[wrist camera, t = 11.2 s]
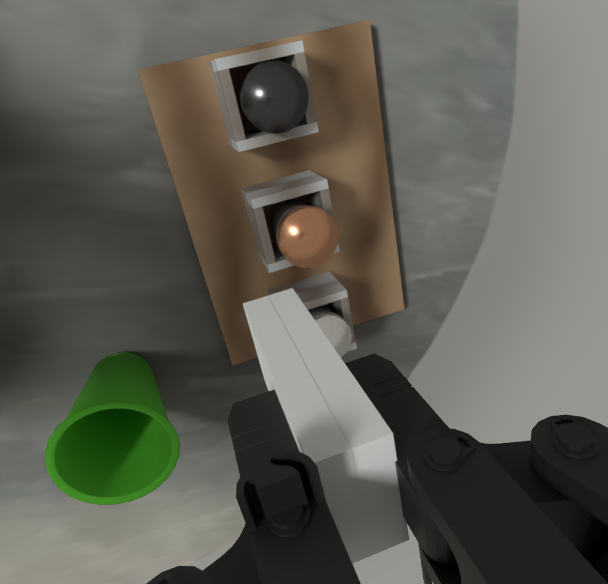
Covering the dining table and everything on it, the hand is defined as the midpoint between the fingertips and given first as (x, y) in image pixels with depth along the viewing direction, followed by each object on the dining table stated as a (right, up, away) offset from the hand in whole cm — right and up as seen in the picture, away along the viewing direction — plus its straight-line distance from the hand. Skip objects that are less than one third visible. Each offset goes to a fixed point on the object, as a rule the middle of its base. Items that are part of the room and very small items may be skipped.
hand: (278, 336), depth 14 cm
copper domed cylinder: (0, +7, +25) cm, 25 cm away
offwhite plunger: (+1, -1, +30) cm, 30 cm away
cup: (-16, -6, +30) cm, 35 cm away
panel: (0, +9, +28) cm, 30 cm away
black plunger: (-2, +16, +22) cm, 27 cm away
